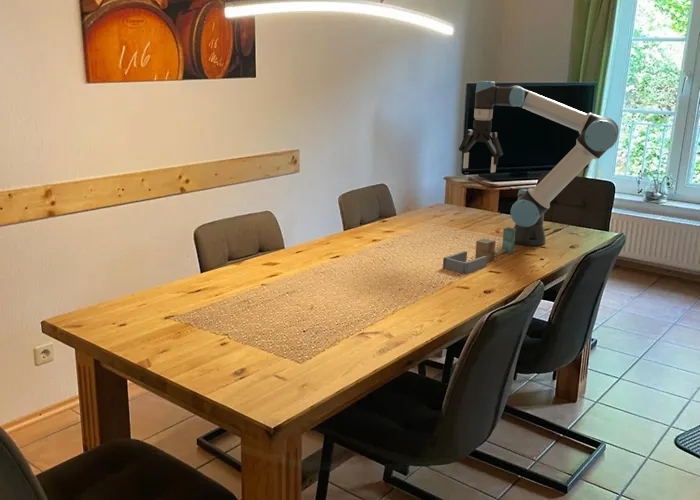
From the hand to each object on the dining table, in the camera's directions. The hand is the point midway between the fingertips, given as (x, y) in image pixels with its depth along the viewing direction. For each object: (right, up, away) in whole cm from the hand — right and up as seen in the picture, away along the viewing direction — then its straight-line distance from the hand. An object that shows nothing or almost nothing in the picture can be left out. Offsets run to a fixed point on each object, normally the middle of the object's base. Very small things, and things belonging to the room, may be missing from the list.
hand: (479, 170), depth 292 cm
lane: (-10, -40, -26) cm, 49 cm away
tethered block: (+5, -36, -11) cm, 38 cm away
